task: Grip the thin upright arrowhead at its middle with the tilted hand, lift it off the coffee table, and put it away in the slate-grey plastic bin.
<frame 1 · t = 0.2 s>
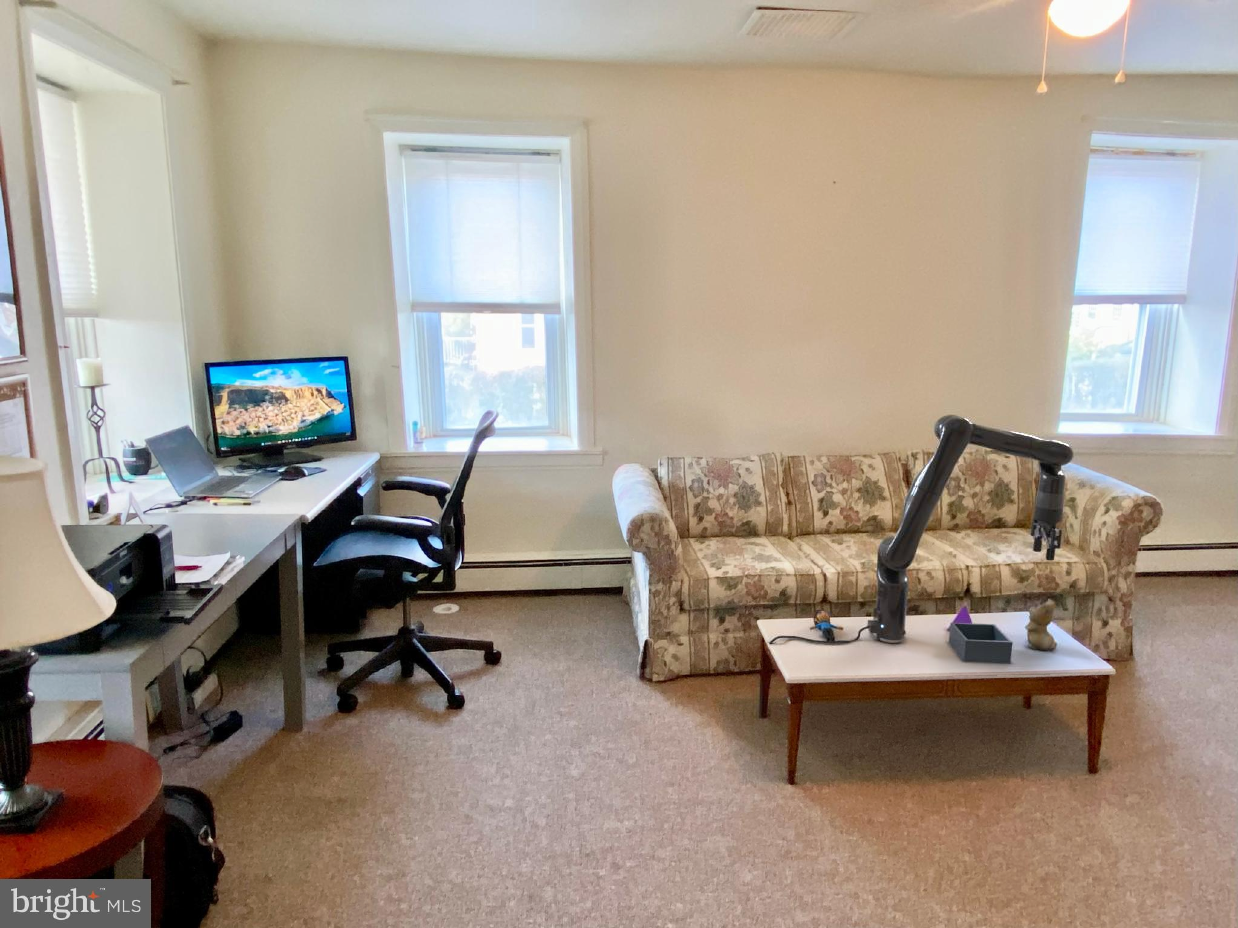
hand: (1043, 555, 235), 29 cm above the table, tool pointing down, fingers open, 8 cm apart
bin: (978, 652, 234), on the table
figurine: (1038, 645, 239), on the table
toy: (824, 633, 248), on the table
arrowhead: (961, 633, 248), on the table
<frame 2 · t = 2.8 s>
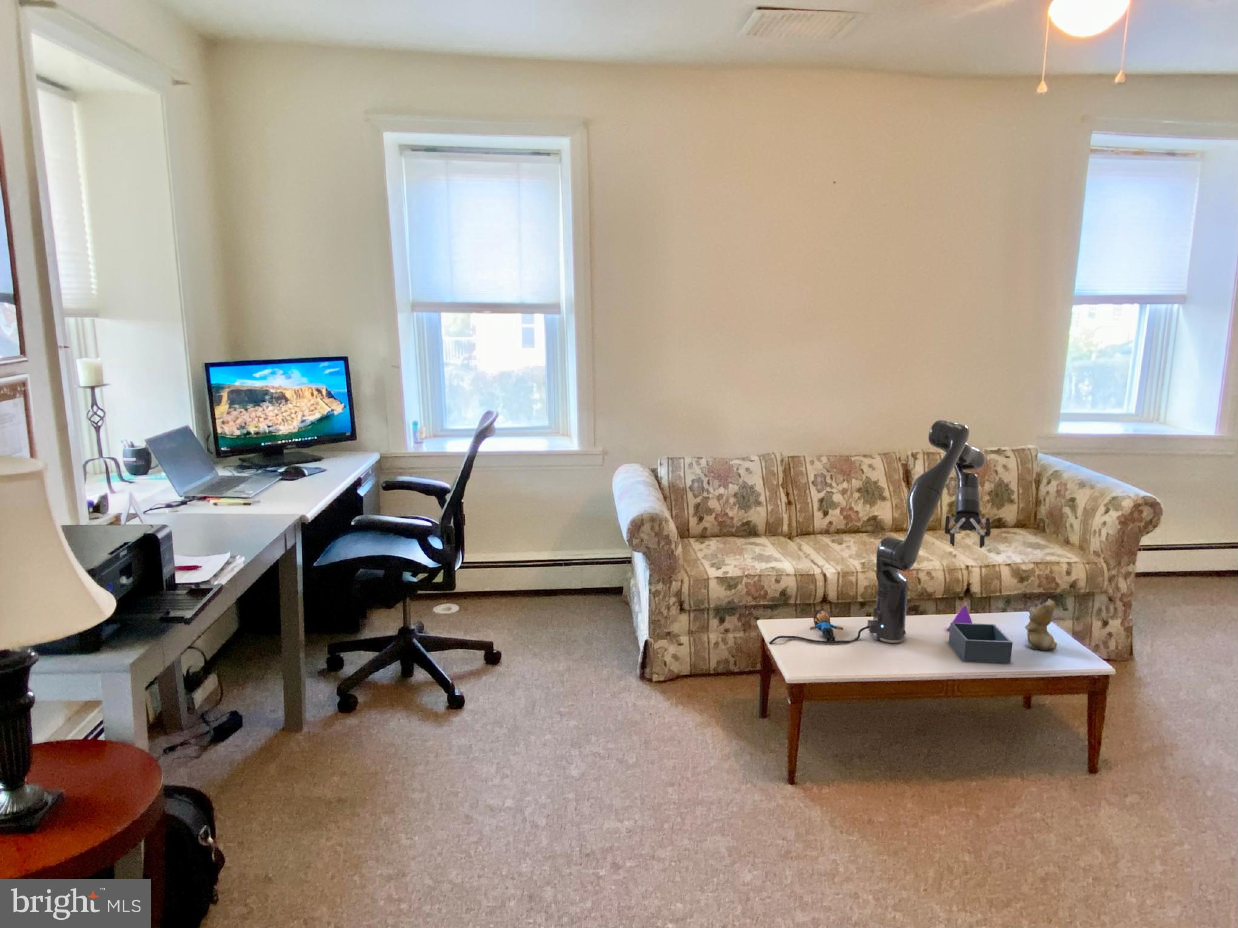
hand: (967, 546, 255), 26 cm above the table, tool tilted 35°, fingers open, 8 cm apart
nothing on the table moved.
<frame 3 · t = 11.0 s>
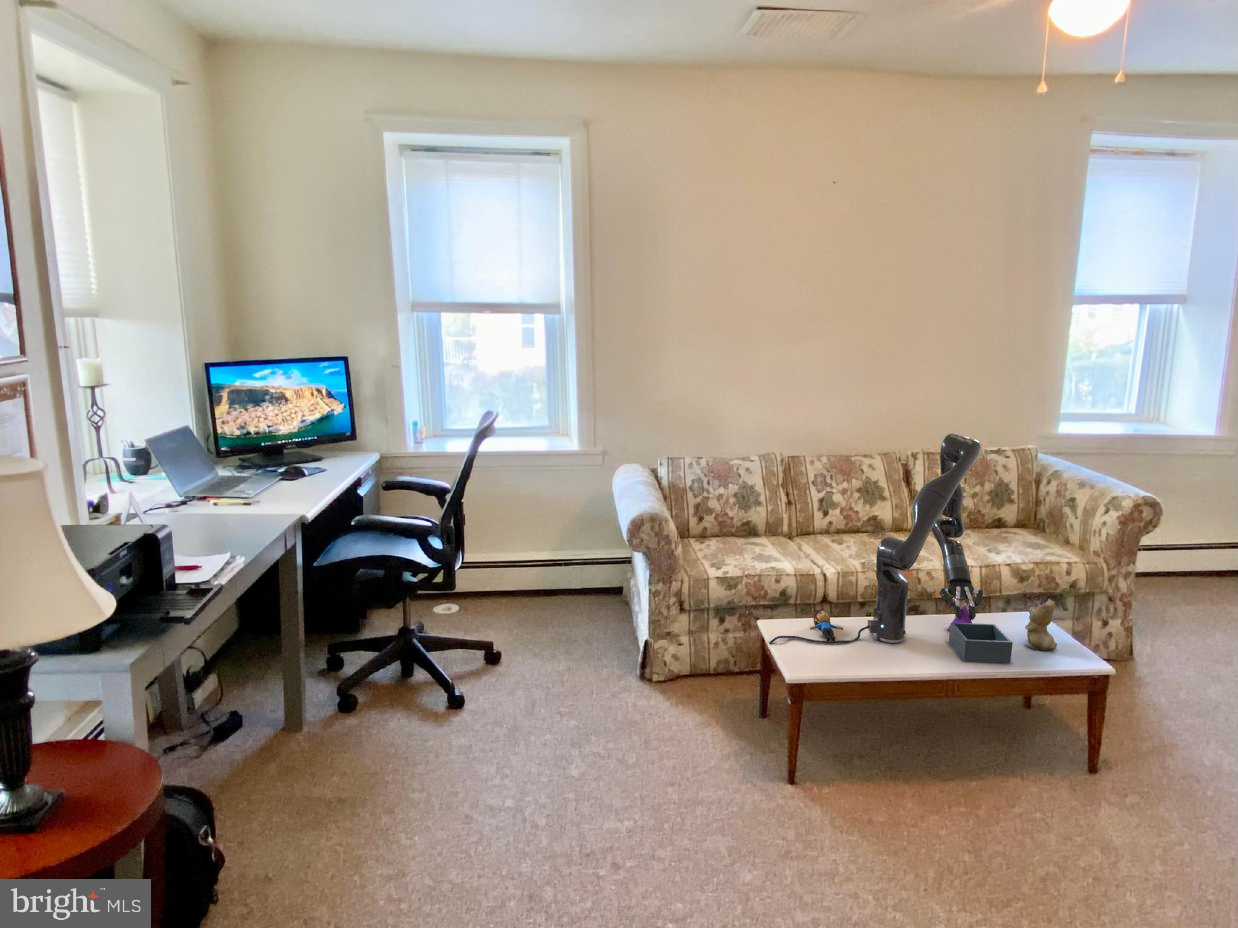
hand: (966, 618, 245), 6 cm above the table, tool tilted 45°, fingers closed on arrowhead, 3 cm apart
arrowhead: (961, 634, 248), on the table, touching gripper
everything else where it was.
when the fingers open (7 cm above the table, at t = 20.9 s): arrowhead stays where it is, resting on bin.
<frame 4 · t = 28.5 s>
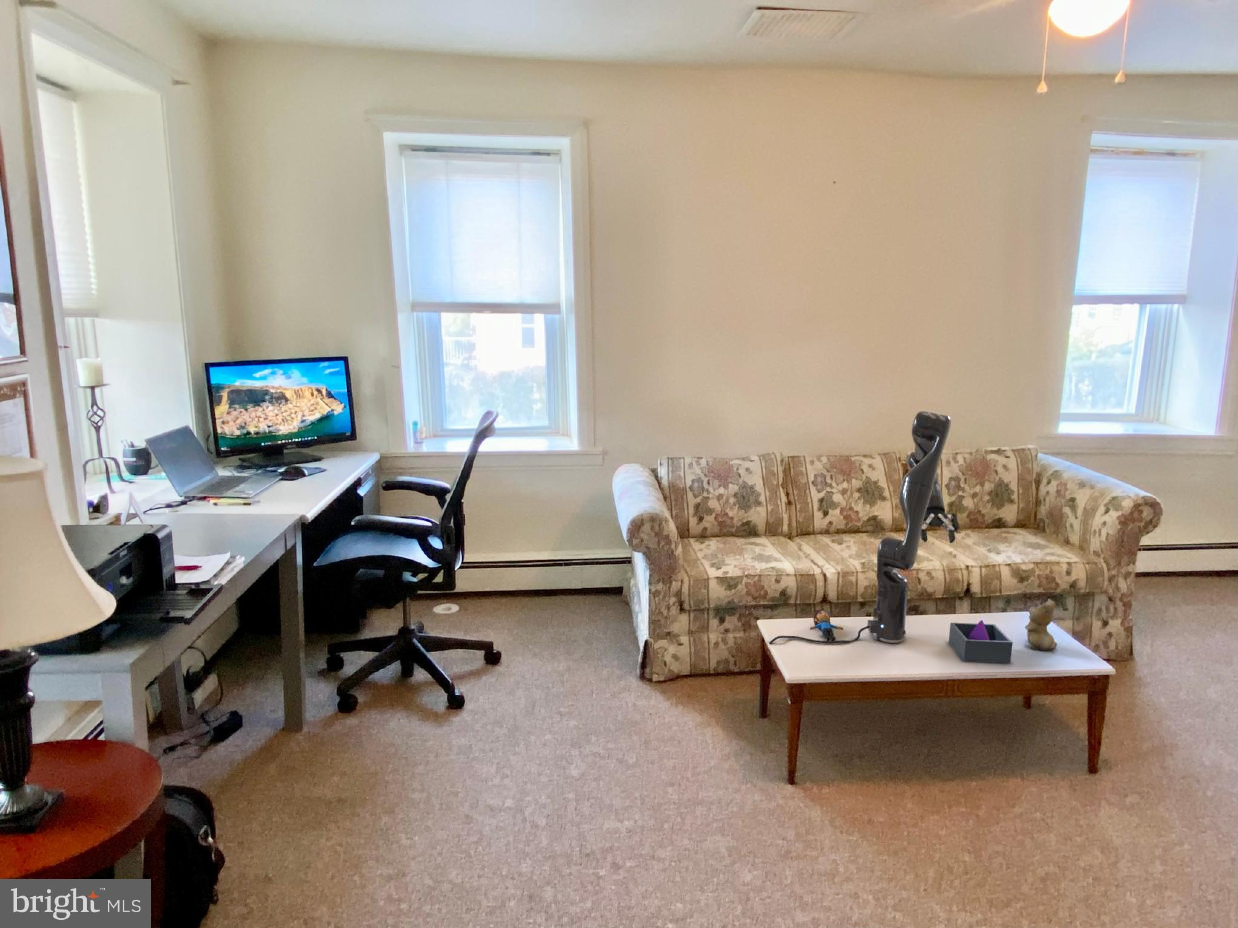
hand: (938, 541, 251), 29 cm above the table, tool tilted 45°, fingers open, 8 cm apart
arrowhead: (978, 650, 234), point 1 cm above the table, touching bin
everything else where it was.
at the end: arrowhead inside the target area in the bin (0.2 cm from its centre), point 0.6 cm above the bin's base; the gripper is holding nothing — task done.
